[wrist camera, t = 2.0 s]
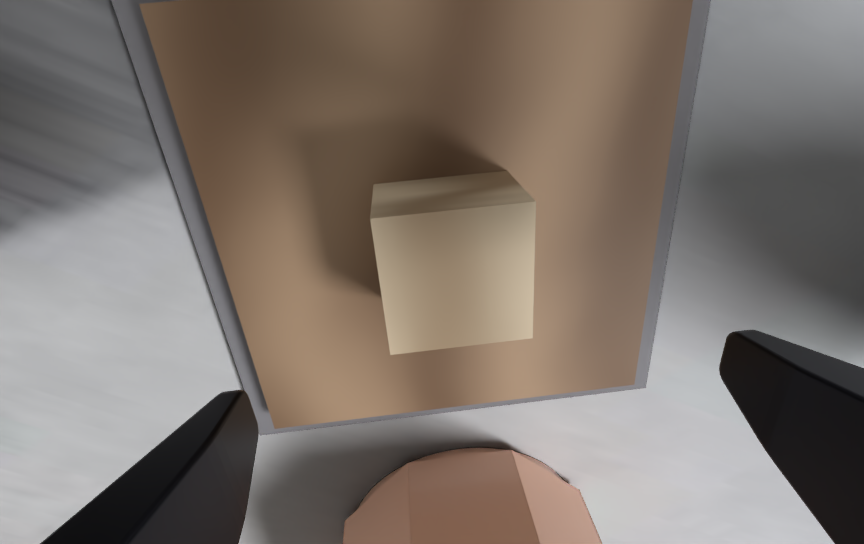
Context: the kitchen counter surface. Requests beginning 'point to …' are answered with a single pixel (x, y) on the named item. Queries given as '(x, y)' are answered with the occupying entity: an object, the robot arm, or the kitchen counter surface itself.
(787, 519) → the kitchen counter surface
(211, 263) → the mat
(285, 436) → the kitchen counter surface
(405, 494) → the bowl
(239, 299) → the cover
